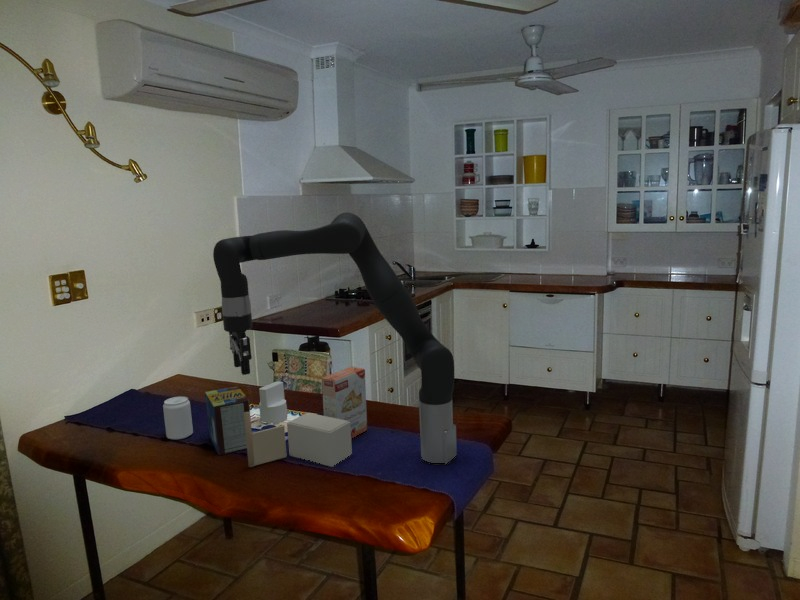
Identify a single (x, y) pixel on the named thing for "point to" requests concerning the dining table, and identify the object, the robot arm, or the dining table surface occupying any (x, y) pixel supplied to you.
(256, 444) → the flap
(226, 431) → the protein box
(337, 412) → the cracker box
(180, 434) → the beverage can
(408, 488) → the dining table surface
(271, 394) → the cylinder with rectangular tab
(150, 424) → the dining table surface
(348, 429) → the carton
